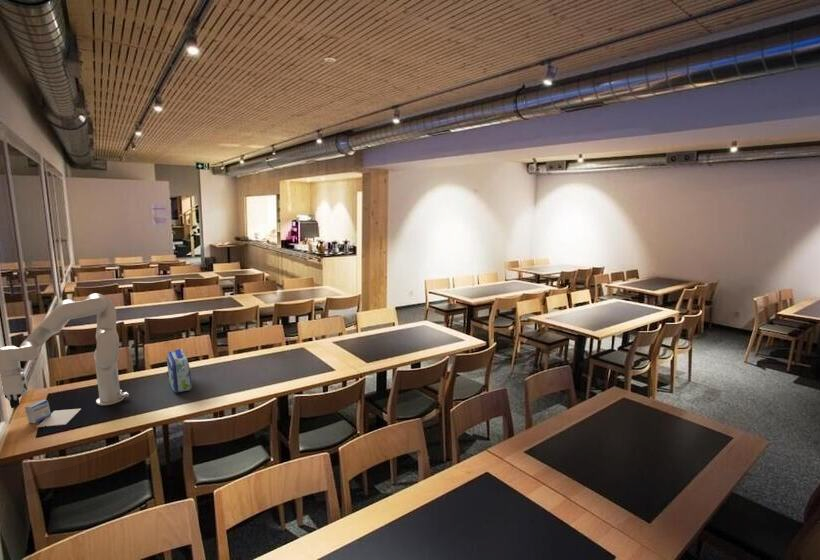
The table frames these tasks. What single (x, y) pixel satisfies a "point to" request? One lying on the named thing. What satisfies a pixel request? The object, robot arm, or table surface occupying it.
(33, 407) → the medicine box
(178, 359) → the lunch box
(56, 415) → the mat
